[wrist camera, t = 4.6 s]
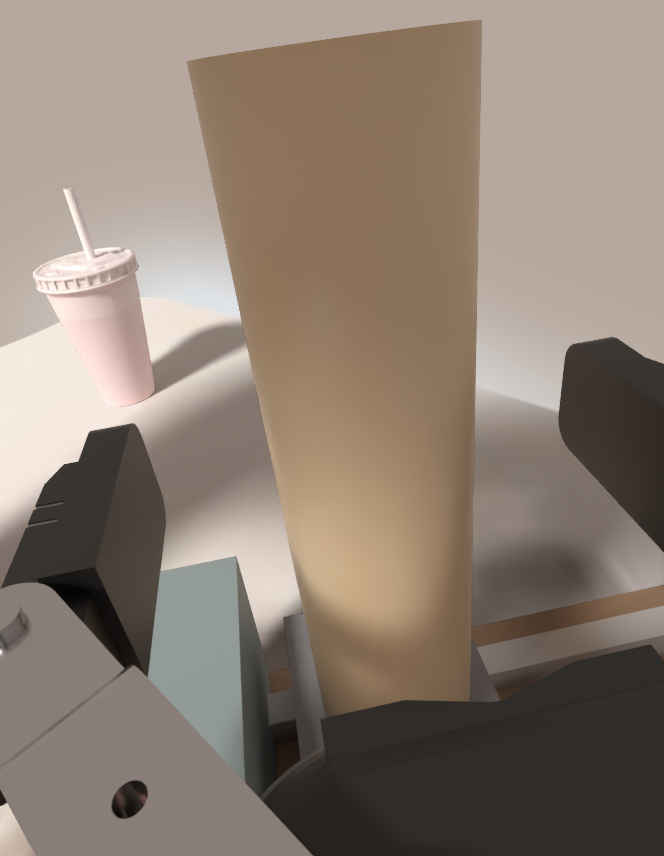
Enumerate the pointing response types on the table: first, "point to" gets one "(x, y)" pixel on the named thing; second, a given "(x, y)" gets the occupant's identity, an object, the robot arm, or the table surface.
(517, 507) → the table surface
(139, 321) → the smoothie
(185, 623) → the pair of sage blocks
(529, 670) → the rail bed
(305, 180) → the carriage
